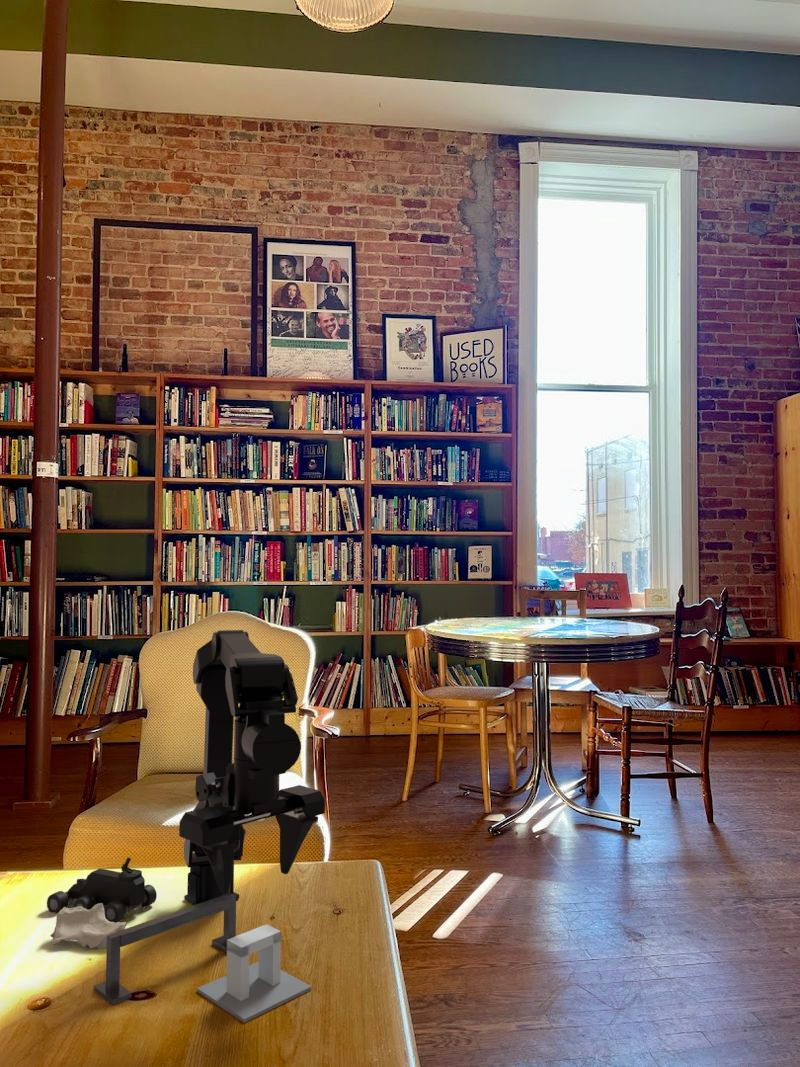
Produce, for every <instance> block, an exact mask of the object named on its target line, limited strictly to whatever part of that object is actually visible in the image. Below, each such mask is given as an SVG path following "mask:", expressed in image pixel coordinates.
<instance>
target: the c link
mask: <svg viewBox="0 0 800 1067" xmlns="http://www.w3.org/2000/svg"><path fill="white" fill-rule="evenodd" d="M256 952H258V962H259V967H258V978H260V979H262V980H264V981H265V982H267V983H269V984H270V985H272V986H274V985H276V984H278V983H280V982H281V970H282V968H281V964H282V963H281V962H282V961H281V960H282V931H281V930H279V929H277V928H275V927H273V926H271V925H270V924H267V923H266V924H263V925H261V926H259V927H256V928H253V929H251V930H248V931H246V932H243V933H241V934H238V935H236V936H235V937H233V938H230V939H228V940H227V953H226V975H227V982H226V992H227V993H229V994H230V995H232V996H234V997H235V998H237V999H238V1000H240V1001H242V1000H244V999H246V998H248V997H249V965H250V955H251V954H254V953H256Z"/></svg>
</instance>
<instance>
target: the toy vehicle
mask: <svg viewBox="0 0 800 1067" xmlns="http://www.w3.org/2000/svg"><path fill="white" fill-rule="evenodd" d="M131 860H132V858H131V857H129V856H128V857H127V858H126V860H125V862H124V863H122V865H121V868H120V869H121V870H120V871H121V872H120V871H115V870H110V869H106V868H98V869H94V870H93V871H91V872H90V873H89V874H87V876H86V878H77V879H76V883H73V885H71V886H70V888H69V889H68V890H67V891H63V890H58V891H55V892H54V893H52V894H50V895H49V896H48V897H47V900H46V907H47V910H48V912H50V913H54V914H58V912H60V910H62V909H63V908H64V907H66V908H69V907H68V906H69V902H71V901H74V900H75V901H74V903H73V906H72V908H74V907H77V906H82V907H83V908H85V909H87V910H90V909H92V908H93V907H94V905H96V904H99V903H103V906H104V911H105V918H106V919H107V920H108V921H110V922H115V923H117V922H121V921H122V920H125V917H126V915H128V913H130V912H132V910H136V909H138V908H147V907H150V906H151V905H153V904H154V903H155V902H156V900H157V896H158V895H157V890H156V888H155V887H154V885H152V884H146V880H145V878H144V876H143V875H142V874H143V871H142V870H140V869H136V868H130V867H129V864H130V863H131Z"/></svg>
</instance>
